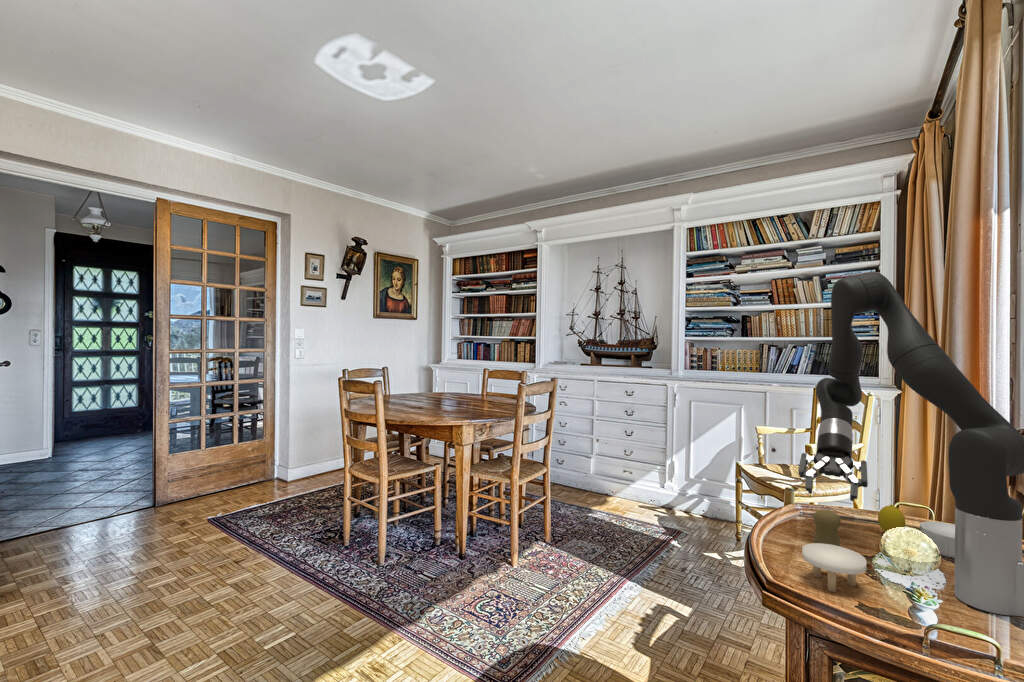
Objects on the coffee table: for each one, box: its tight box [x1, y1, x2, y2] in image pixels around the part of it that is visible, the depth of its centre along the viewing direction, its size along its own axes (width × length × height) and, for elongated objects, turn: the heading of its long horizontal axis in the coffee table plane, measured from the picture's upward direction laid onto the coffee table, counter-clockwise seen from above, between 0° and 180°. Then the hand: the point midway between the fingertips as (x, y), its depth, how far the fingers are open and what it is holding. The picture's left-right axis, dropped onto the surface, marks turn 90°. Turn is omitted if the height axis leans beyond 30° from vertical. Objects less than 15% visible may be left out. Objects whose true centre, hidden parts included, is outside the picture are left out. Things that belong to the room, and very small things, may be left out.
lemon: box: [877, 504, 906, 532], centre depth 126 cm, size 6×6×8 cm
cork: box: [813, 509, 842, 547], centre depth 112 cm, size 6×6×11 cm
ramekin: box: [919, 520, 955, 559], centre depth 118 cm, size 11×11×5 cm
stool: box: [801, 542, 867, 593], centre depth 101 cm, size 11×11×6 cm
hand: (830, 495), depth 119 cm, fingers open, 8 cm apart
